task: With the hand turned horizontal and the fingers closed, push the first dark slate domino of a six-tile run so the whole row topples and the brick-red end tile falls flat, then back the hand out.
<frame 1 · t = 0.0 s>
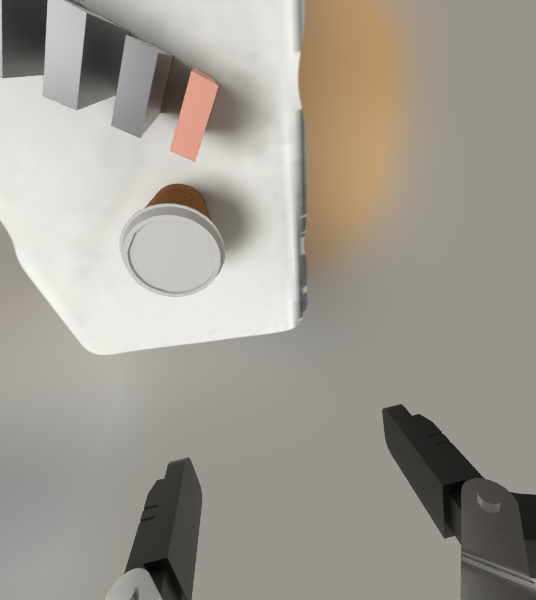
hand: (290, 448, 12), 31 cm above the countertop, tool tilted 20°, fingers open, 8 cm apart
domino 4: (113, 58, 27), on the countertop
domino 3: (65, 33, 26), on the countertop
disposable coffee cup: (180, 209, 37), on the countertop
domino 5: (156, 80, 29), on the countertop
domino 6: (195, 100, 30), on the countertop
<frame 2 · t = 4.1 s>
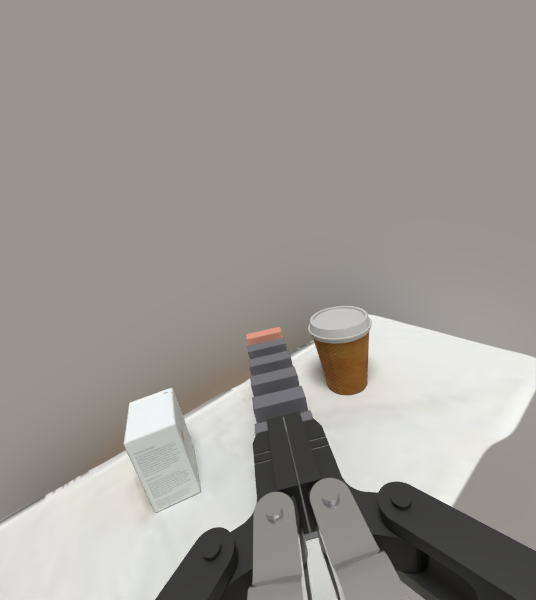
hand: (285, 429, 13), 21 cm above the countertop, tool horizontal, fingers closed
small box: (177, 478, 39), on the countertop
domino 4: (288, 442, 40), on the countertop
domino 3: (294, 465, 37), on the countertop
disposable coffee cup: (347, 384, 50), on the countertop
domino 5: (284, 422, 44), on the countertop
domino 2: (300, 494, 33), on the countertop
domino 1: (308, 529, 30), on the countertop
domino 6: (280, 406, 48), on the countertop
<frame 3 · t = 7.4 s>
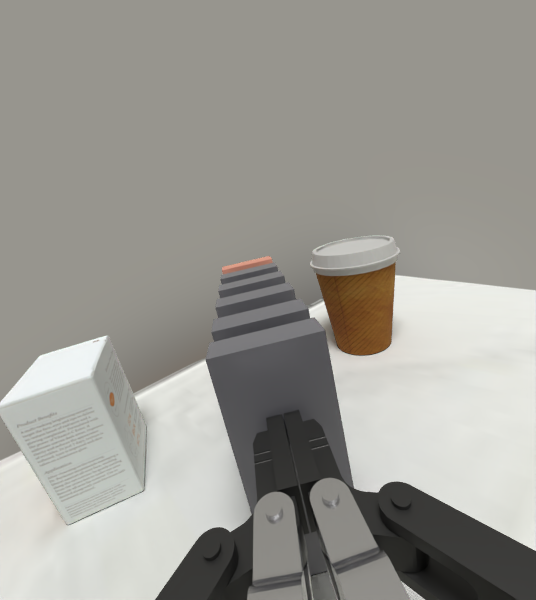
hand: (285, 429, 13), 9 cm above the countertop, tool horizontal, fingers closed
small box: (114, 471, 26), on the countertop
domino 4: (283, 416, 27), on the countertop
domino 3: (290, 448, 24), on the countertop
disposable coffee cup: (363, 343, 37), on the countertop
domino 5: (277, 391, 31), on the countertop
domino 2: (301, 492, 20), on the countertop
domino 1: (316, 554, 16), on the countertop
domino 6: (272, 372, 34), on the countertop
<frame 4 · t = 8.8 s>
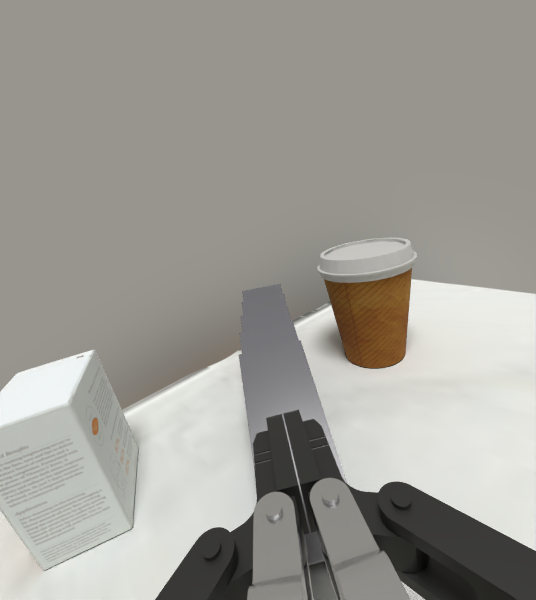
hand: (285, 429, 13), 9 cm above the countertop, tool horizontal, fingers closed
small box: (101, 502, 23), on the countertop
domino 4: (282, 408, 27), point 1 cm above the countertop, tilted 62°, touching domino 3, domino 5
domino 3: (289, 444, 23), point 1 cm above the countertop, tilted 62°, touching domino 2, domino 4
disposable coffee cup: (374, 354, 34), on the countertop
domino 5: (277, 381, 31), point 1 cm above the countertop, tilted 62°, touching domino 4
domino 2: (301, 491, 19), point 1 cm above the countertop, tilted 62°, touching domino 1, domino 3
domino 1: (319, 562, 15), point 1 cm above the countertop, tilted 63°, touching domino 2
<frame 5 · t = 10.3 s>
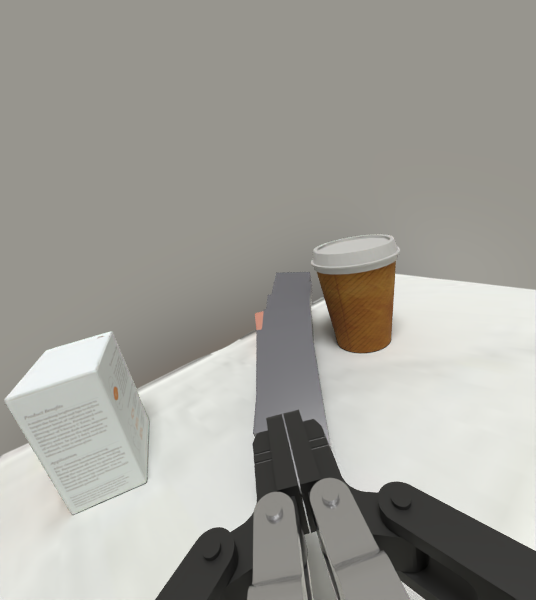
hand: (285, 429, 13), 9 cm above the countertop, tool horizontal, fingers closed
small box: (118, 463, 26), on the countertop
domino 4: (282, 370, 32), point 1 cm above the countertop, tilted 66°, touching domino 3, domino 5
domino 3: (284, 399, 28), point 1 cm above the countertop, tilted 65°, touching domino 2, domino 4
disposable coffee cup: (363, 341, 37), on the countertop
domino 5: (283, 348, 36), point 1 cm above the countertop, tilted 66°, touching domino 4
domino 2: (286, 437, 23), point 1 cm above the countertop, tilted 65°, touching domino 1, domino 3
domino 1: (297, 491, 19), point 1 cm above the countertop, tilted 65°, touching domino 2
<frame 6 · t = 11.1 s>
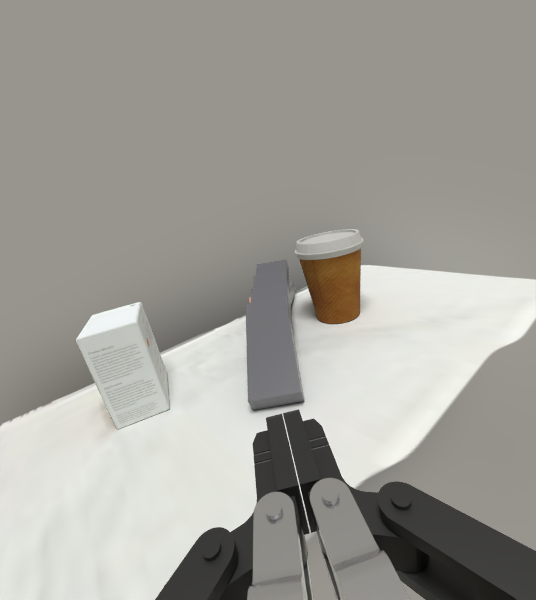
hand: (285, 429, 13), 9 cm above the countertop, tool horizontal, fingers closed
small box: (146, 401, 35), on the countertop
domino 4: (269, 330, 42), point 1 cm above the countertop, tilted 60°, touching domino 3
domino 3: (272, 351, 38), point 1 cm above the countertop, tilted 60°, touching domino 2, domino 4
disposable coffee cup: (338, 316, 46), on the countertop
domino 5: (270, 313, 46), point 2 cm above the countertop, tilted 90°
domino 2: (271, 373, 33), point 1 cm above the countertop, tilted 63°, touching domino 1, domino 3
domino 1: (276, 401, 28), point 1 cm above the countertop, tilted 65°, touching domino 2
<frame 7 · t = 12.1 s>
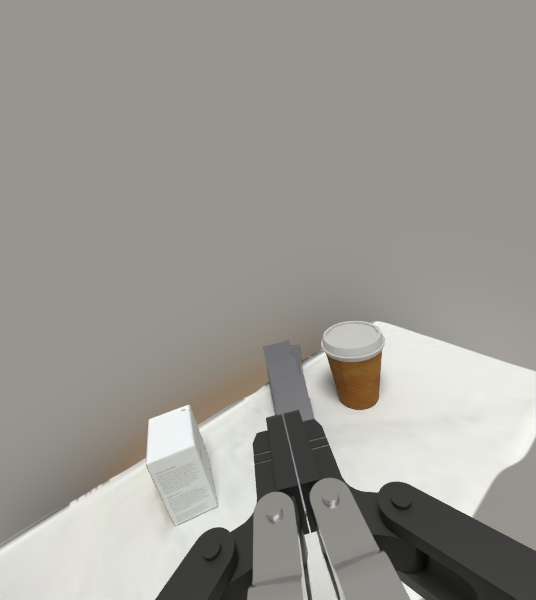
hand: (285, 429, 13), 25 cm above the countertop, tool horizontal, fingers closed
small box: (194, 491, 40), on the countertop
domino 4: (291, 411, 48), point 1 cm above the countertop, tilted 64°, touching domino 3, domino 5
domino 3: (299, 437, 44), point 1 cm above the countertop, tilted 64°, touching domino 2, domino 4
disposable coffee cup: (358, 397, 50), on the countertop
domino 5: (288, 388, 53), point 2 cm above the countertop, tilted 90°, touching domino 4, domino 6
domino 2: (304, 469, 39), point 1 cm above the countertop, tilted 66°, touching domino 3
domino 1: (313, 511, 34), point 1 cm above the countertop, tilted 68°
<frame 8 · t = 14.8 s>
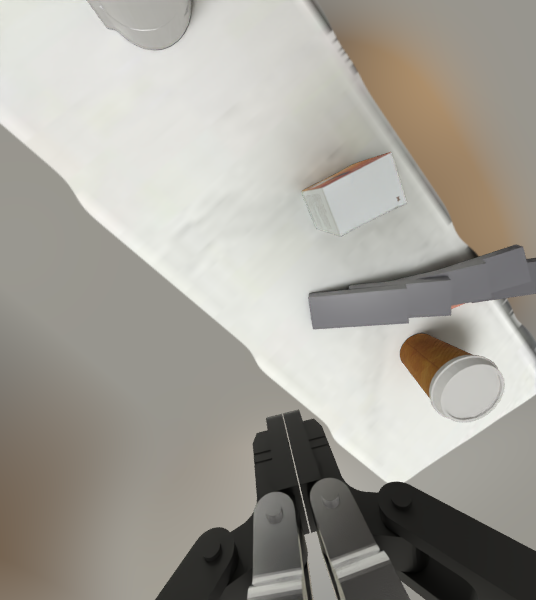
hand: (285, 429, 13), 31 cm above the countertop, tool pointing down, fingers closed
small box: (333, 197, 41), on the countertop
domino 4: (421, 293, 45), point 1 cm above the countertop, tilted 70°, touching domino 3, domino 5
domino 3: (385, 300, 45), point 1 cm above the countertop, tilted 69°, touching domino 2, domino 4
disposable coffee cup: (417, 350, 50), on the countertop
domino 5: (469, 285, 45), point 2 cm above the countertop, tilted 90°, touching domino 4, domino 6
domino 2: (350, 303, 45), point 1 cm above the countertop, tilted 69°, touching domino 1, domino 3
domino 1: (311, 311, 44), point 1 cm above the countertop, tilted 70°, touching domino 2
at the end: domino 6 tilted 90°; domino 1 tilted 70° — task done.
